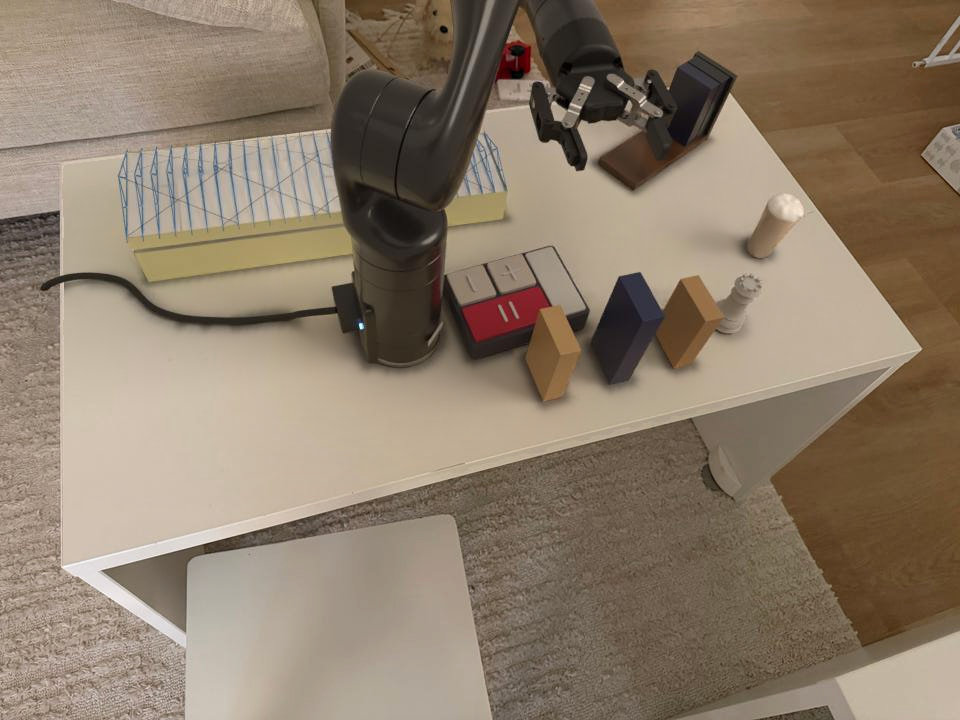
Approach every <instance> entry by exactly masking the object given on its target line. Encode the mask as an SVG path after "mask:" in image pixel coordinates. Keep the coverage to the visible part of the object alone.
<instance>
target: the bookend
mask: <svg viewBox="0 0 960 720" xmlns="http://www.w3.org/2000/svg"><path fill="white" fill-rule="evenodd" d="M737 78H738V75H737V74H736V73H734V72H733V71H731V70H729V69H728V68H726V67H725V66H723V65H722V64H721V63H718V62H717V61H715V60H714V59H712V58H711V57H709V56H708V55H706V54H704V53H703V52H701V51H700V50H697V51H696V52H695V53H694V54H693V57H692V58H691V59H689V60H687V61H685V62H684V63H682V64H680V65H679V66H677V67H676V69H675V72H674V75H673V77H672V80H671V83H670V86H669V88H668V91H669V92H670V94H671V96H672V98H673V99H674V101H675V103H676V104H677V109H676V112H675V113H674V115H673V118H672V120H671V123H670V125H669V127H668V128H667V130H668V132H669V134H670V136H671V138H672V146H671V148H670V150H669V152H668V154H667V156H666V158H665V160H660V161H657V160H656V158H655V156H654V154H653V152H652V150H651V148H650V145H649V143H648V141H647V139H646V137H645V135H646V133H645V132H644V131H642V130H640V131H639V132H637V133H636V134H635V135H632V136H631V137H629V138H628V139H626V140H625V141H624V142H622V143H620V144H618V145H617V146H615V147H614V148H612V149H611V150H609V151H608V152H606V153H605V154H603V155H602V156H600V157H599V158H598V161H597V165H599V167H601V168H602V169H604V170H605V171H606V172H607V173H609V174H610V175H612V176H613V177H614V178H615V179H617V180H618V181H620V182H621V183H622V184H624V185H625V186H626V187H627V188H629V189H630V190H631V191H633V192H635V190H637V189H639V188H640V187H642V185H644V184H646V183H647V182H649V181H650V180H651V179H653V178H654V177H656V176H657V175H658V174H660V173H662V172H663V171H664V170H666V169H668V167H670V166H671V165H673V164H674V163H676V162H677V161H679V160H680V159H681V158H683V157H684V156H686V155H687V154H689V153H690V152H692V151H693V150H694V149H696V148H697V147H699V146H700V145H702V144H703V143H704V142H706V141H707V140H708V139H709V137H710V135H711V132H712V131H713V129H714V126H715V124H716V122H717V120H718V118H719V116H720V114H721V112H722V110H723V108H724V106H725V103H726V102H727V99H728V97H729V95H730V93H731V91H732V89H733V87H734V84H735V82H736V80H737Z"/></svg>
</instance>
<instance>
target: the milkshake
mask: <svg viewBox="0 0 960 720" xmlns="http://www.w3.org/2000/svg"><path fill="white" fill-rule="evenodd" d="M804 211H805V210H804V206H803V204H802V203H801V201H800V200H799V199H798V198H797V197H795V196H794V195H792V194H790V193H784V192H783V193H777V194H774V195H773V196H771V197H770V198H769V199H768V200H767V203H766V204H765V207H764V210H763V212H762V214H761V216H760V218H759V220H758V222H757V224H756V226H755V228H754V230H753V232H752V234H751V235H750V237H749V240H748V241H747V243H746V245H745V247H746V251H747V252H748V254H750V255H751V256H752V257H754V258H757V259H765V258H768V257H769V255H770V254H771V253H772V252H773V251H774V249H775V248H776V247H777V246H778V245H779V244H780V242H781V241H782V240H783V239H784V238H785V236H787V235H788V233H789V232H790V231H791V230H792V229H793V228H794V227H795V225H796V224H797V223H798V222H799V221H800V220H801V219H802V218H805V217H806V216H807V215H810V214H812V213H814V212H815V210H813V211H810V212H808V213H807V214H804V213H805V212H804Z"/></svg>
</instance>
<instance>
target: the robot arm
mask: <svg viewBox="0 0 960 720" xmlns="http://www.w3.org/2000/svg"><path fill="white" fill-rule="evenodd" d="M449 4H450V12H451V20H452V34H453V35H452V37H453V38H452V49H451V50H452V52H451V56H450V62H449V68H448V71H447V75H446V79H445V81H444V85H443V87H442V89H441V90H439V89H436V88H433V87H431V86H427V85H425V84H421V83H419V82H416V81H413V80H410V79H407V78H405V77H402V76H399V75H396V74H393V73H391V72H387V71H384V70H381V69H378V68H365V69H362V70H359V71H358V72H355V73H354V74H353V75H352V76H351V77H350V78H349V79H347V81H346V82H345V84H344V85H343V87H342V88H341V90H340V92H339V94H338V97H337V99H336V102H335V105H334V107H333V108H334V109H333V113H332V116H331V117H332V118H331V125H330V133H331V135H330V145H331V159H332V166H333V172H334V178H335V182H336V187H337V192H338V197H339V203H340V208H341V214H342V219H343V223H344V226H345V228H346V230H347V232H348V233H349V234H350V236H351V243H352V252H353V254H352V261H353V270H352V271H351V275H350V276H351V282H348V283H342V284H336V285H333V286H331V292H332V299H333V302H334V303H333V304H334V306H328V307H327V306H326V307H318V308H317V307H316V308H309V309H301V310H295V311H293V312H292V311H291V312H286V313H275V314H267V315H258V316H257V315H256V316H255V315H254V316H241V317H240V316H239V317H237V316H236V317H232V316H231V317H229V316H228V317H224V316H203V315H199V316H198V315H190V314H189V315H188V314H182V313H177V312H174V311H170V310H167V309H164V308H162V307H160V306H157V305H156V304H154V303H153V302H151V301H150V300H149V299H148V298H147V297H146V296H145V295H144V293H142V291H141V290H139V288H138V287H137V286H135V284H133V283H132V282H131V281H130V280H128V279H126V278H124V277H122V276H118V275H115V274H111V273H104V272H90V271H89V272H87V271H86V272H85V271H83V272H73V273H67V274H62V275H58V276H55V277H53V278H50V279H49V280H47V281H45V282H44V283H43V284H42V285H41V286H40V287H39V291H41V292H47V291H49V290H51V288H53V287H54V286H57V285H60V284H62V283H66V282H73V281H80V280H82V281H83V280H94V281H95V280H97V281H106V282H110V283H111V282H112V283H116V284H118V285H121V286H123V287H124V288H126V289H127V290H128V291H129V292H131V294H132V295H133V296H134V297H135V298H136V299H137V300H138V301H139V302H140V303H141V304H142V305H143V306H144V307H145V308H146V309H148V310H149V311H151V312H152V313H154V314H155V315H158V316H161V317H163V318H166V319H170V320H174V321H177V322H182V323H190V324H203V325H253V324H254V325H255V324H264V323H271V322H282V321H290V320H295V319H300V318H308V317H318V316H328V315H329V316H330V315H337V318H338V321H339V326H340V330H341V333H342V334H347V333H352V332H357V331H358V332H359V339H360V343H361V345H362V347H363V351H364V354H365V358H366V362H367V363H368V364H373V363H379V364H382V365H385V366H386V367H387V366H388V367H393V368H408V367H413V366H416V365H418V364H421V363H423V362H425V361H426V360H427V359H429V358H430V357H431V356H432V355H433V354H435V351H436V350H437V349H438V346H439V344H440V340H441V332H442V331H441V329H442V328H443V325H444V321H443V320H442V308H443V307H442V306H443V297H444V295H443V283H444V275H445V267H446V255H447V245H448V244H447V243H448V232H449V231H448V229H449V226H448V220H447V214H446V211H445V209H444V208H446V207H447V206H448V205H449V204H450V203H451V202H452V200H453V199H454V197H455V196H456V194H457V192H458V190H459V188H460V186H461V184H462V182H463V180H464V178H465V175H466V173H467V170H468V167H469V165H470V162H471V158H472V155H473V152H474V149H475V146H476V143H477V139H478V136H479V133H481V129H482V126H483V123H484V118H485V115H486V112H487V108H488V107H489V106H488V105H489V102H490V98H491V95H492V93H493V88H494V85H495V82H496V79H497V75H498V72H499V68H500V64H501V61H502V58H503V55H504V51H505V49H506V45H507V43H508V39H509V36H510V33H511V30H512V28H513V24H514V23H515V19H516V16H517V14H518V11H519V8H520V9H521V11H522V12H524V14H526V16H527V19H528V21H529V23H530V27H531V28H532V31H533V33H534V37H535V43H536V47H537V50H538V54H539V55H538V56H539V57H540V59H541V60H542V62H543V66H544V68H545V70H546V73H547V76H548V78H549V81H550V83H551V86H552V87H545V84H544V83H543V82H542V81H534V82H532V85H531V90H530V96H529V101H528V106H529V110H530V113H531V117H532V120H533V124H534V127H535V131H536V135H537V138H538V141H539V142H540V143H542V144H548V143H549V142H550V141H555V142H557V144H558V145H559V146H560V147H561V149H562V151H563V155H564V157H565V159H566V162H567V164H568V165H569V166H570V167H574V170H575V171H576V172H581V171H585V170H586V166H587V162H588V159H589V158H588V157H589V154H588V151H587V149H586V146H585V144H584V141H583V139H582V137H581V134H580V131H579V129H578V128H579V126H580V124H581V122H582V121H583V122H587V124H588V125H590V124H591V125H592V124H597V123H599V122H615V121H616V122H617V121H619V122H621V123H622V124H623V125H625V126H627V127H629V128H631V127H633V126H634V127H635V128H637V129H639V130H640V131H644V132H645V133H646V135H645V137H646V139H647V141H648V143H649V145H650V148H651V150H652V152H653V154H654V156H655V158H656V160H657V161H660V160H665V158H666V156H667V154H668V152H669V150H670V148H671V146H672V138H671V136H670V134H669V132H668V130H667V128H668V127H669V125H670V123H671V120H672V118H673V115H674V113H675V112H676V109H677V104H676V103H675V101H674V99H673V98H672V96H671V94H670V92H669V91H668V90H669V88H668V87H667V86H666V83H665V82H664V80H663V78H662V76H661V75H660V73H659V71H657V70H656V69H653V68H652V69H648V70H647V71H646V74H645V76H641V77H637V78H636V77H635V78H633V76H631V75H630V74H629V73H628V72H627V71H626V70H625V67H624V63H623V59H622V55H621V53H620V51H619V49H618V47H617V44H616V42H615V40H614V38H613V35H612V33H611V31H610V30H609V27H608V24H607V23H606V21H605V19H604V16H603V15H602V12H601V11H600V9H599V8H598V6H597V5H596V3H595V2H594V1H593V0H449ZM553 102H555V103H556V105H558V106H559V107H561V108H562V109H563V110H565V111H566V113H565V115H564V116H563V118H562V119H561V121H560V120H555V117H554V114H553V110H552V104H553ZM629 102H630V103H631V108H630V109H629V111H627V110H626V108H627V105H628V103H629ZM641 113H642V114H644V115H645V116H647V118H646V117H644V116H642V114H641ZM441 320H442V321H441Z"/></svg>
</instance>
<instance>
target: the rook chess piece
mask: <svg viewBox="0 0 960 720" xmlns="http://www.w3.org/2000/svg"><path fill="white" fill-rule="evenodd" d="M755 276H756V274H753V273H749V274H748V273H744V274H742V275H740V276H738V277H736V279H735V280H734V283H733V284H734V286H733V287H732V288H731V290H730V294H729V295H728V296H727V297H726V298H724V299H721V300H719V301H715V303H716V304H717V306H718V308H719V309H720V311H721V312H722V314H723V316H724V318H723V319H722V321H721V322H720V324H719V325H718V327H717V328H716V329H715V331H717V332H719V333H723V334H735V333H737V332H739V331H740V330H741V329H742V328H743V326H744V324H745V322H746V316H747V315H746V312H747V311H746V310H747V308H748V306H749V304H751V303H753V302H754V299H755V298H757V297H759V296H760V295H761V294H762V290H763V289H762V287H763V283H761V281H762V279H761V278H760V277H757V278H755Z"/></svg>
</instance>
